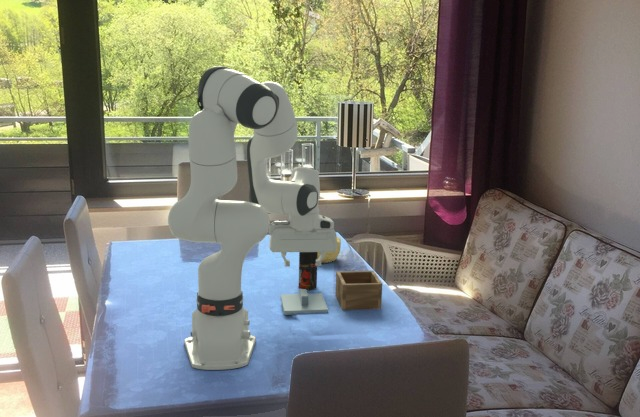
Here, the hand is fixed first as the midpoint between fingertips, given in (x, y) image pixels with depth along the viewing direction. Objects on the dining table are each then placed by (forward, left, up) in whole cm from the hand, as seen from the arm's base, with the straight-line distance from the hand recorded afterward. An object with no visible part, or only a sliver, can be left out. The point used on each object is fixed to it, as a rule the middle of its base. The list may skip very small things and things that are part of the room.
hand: (302, 265), depth 192 cm
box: (+1, -18, -14) cm, 22 cm away
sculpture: (+45, -14, -14) cm, 49 cm away
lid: (+1, -1, -13) cm, 13 cm away
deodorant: (+15, -4, -14) cm, 21 cm away
